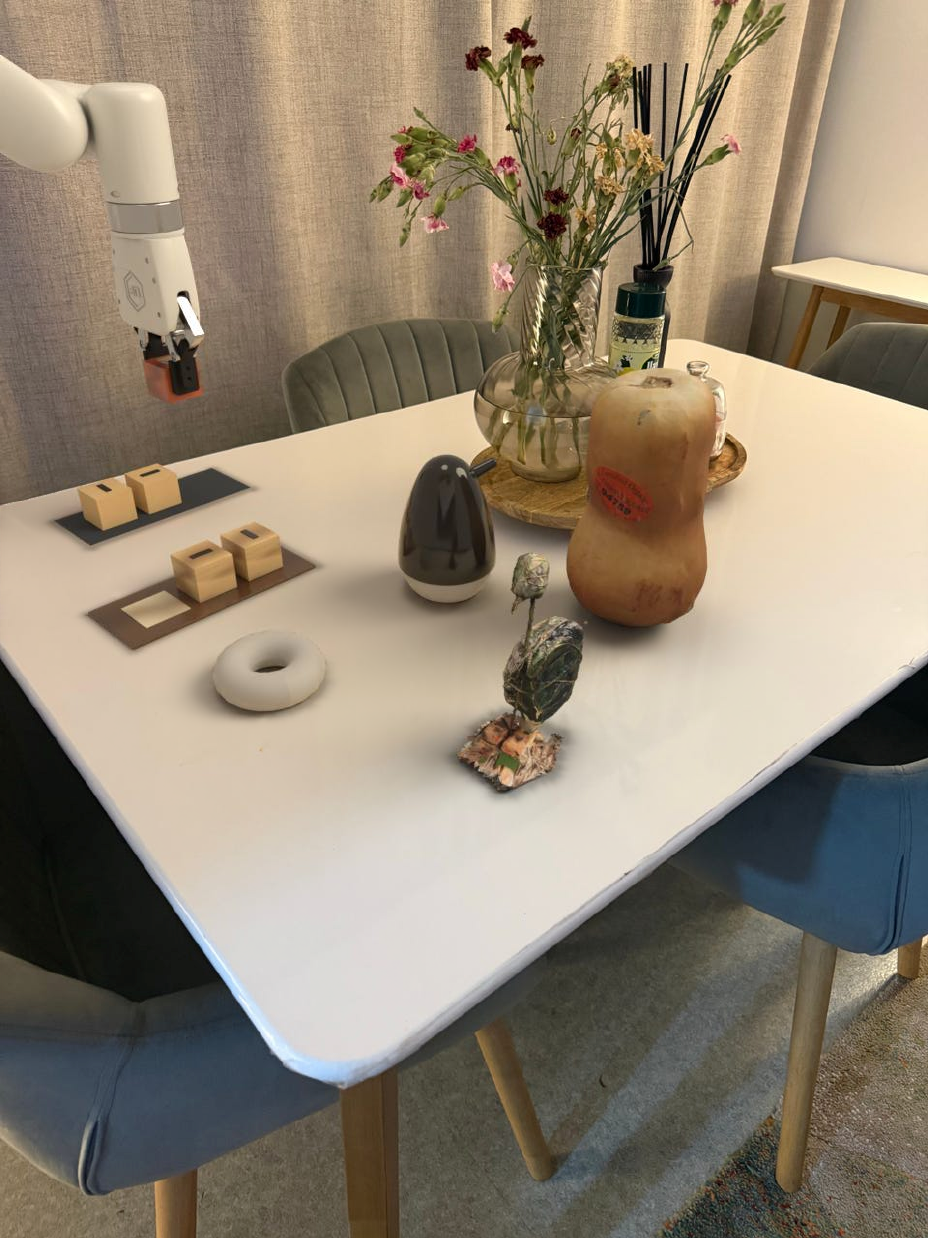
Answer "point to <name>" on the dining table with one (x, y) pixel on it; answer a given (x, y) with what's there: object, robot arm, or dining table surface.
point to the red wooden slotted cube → (164, 380)
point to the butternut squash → (644, 499)
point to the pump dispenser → (447, 531)
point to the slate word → (143, 500)
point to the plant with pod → (529, 688)
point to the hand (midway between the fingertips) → (174, 385)
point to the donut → (271, 688)
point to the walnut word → (203, 584)
